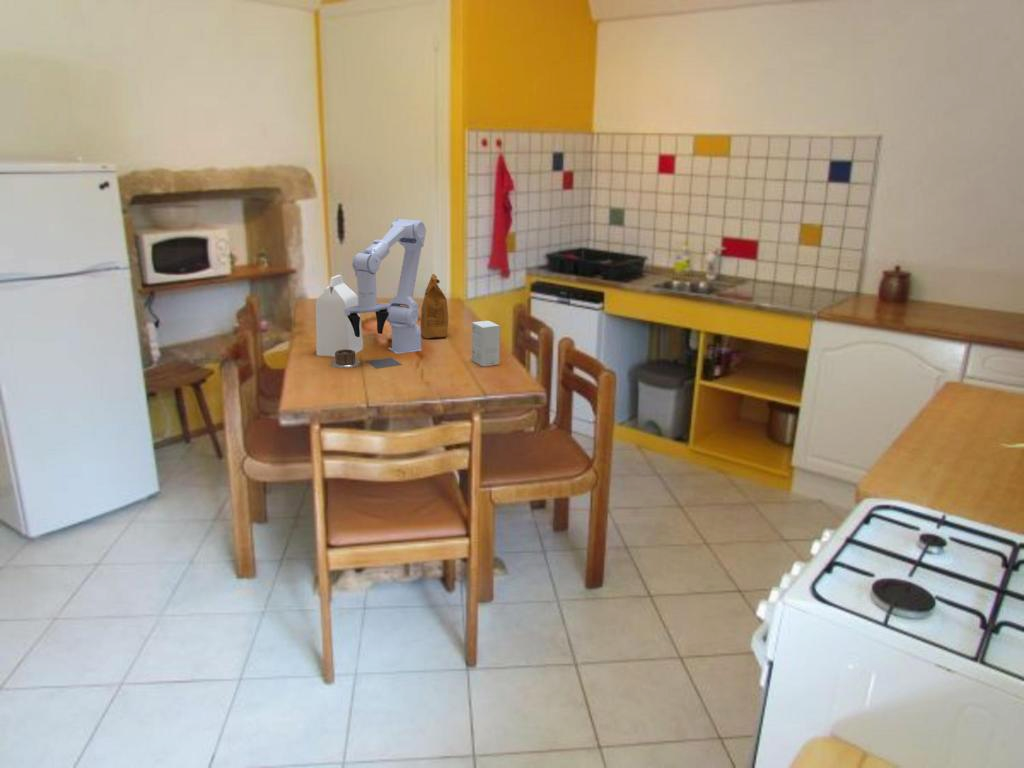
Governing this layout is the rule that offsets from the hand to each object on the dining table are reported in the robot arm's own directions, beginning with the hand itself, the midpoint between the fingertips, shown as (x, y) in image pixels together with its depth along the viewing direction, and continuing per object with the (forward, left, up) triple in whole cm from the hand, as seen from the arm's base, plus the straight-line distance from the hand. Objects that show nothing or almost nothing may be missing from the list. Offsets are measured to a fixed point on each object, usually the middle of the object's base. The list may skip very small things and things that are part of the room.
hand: (368, 334), depth 236 cm
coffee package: (-35, -24, -10) cm, 44 cm away
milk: (+4, -17, -10) cm, 20 cm away
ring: (+7, -3, -9) cm, 12 cm away
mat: (-4, +2, -10) cm, 11 cm away
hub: (+7, -3, -10) cm, 12 cm away
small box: (-34, +15, -10) cm, 39 cm away
